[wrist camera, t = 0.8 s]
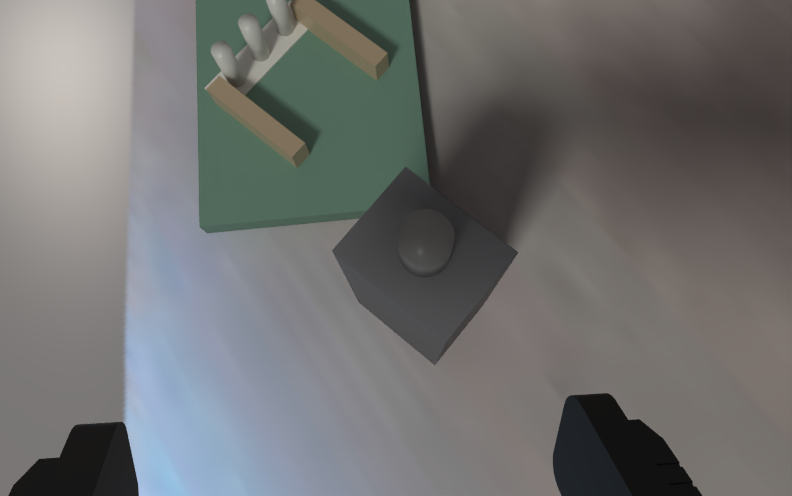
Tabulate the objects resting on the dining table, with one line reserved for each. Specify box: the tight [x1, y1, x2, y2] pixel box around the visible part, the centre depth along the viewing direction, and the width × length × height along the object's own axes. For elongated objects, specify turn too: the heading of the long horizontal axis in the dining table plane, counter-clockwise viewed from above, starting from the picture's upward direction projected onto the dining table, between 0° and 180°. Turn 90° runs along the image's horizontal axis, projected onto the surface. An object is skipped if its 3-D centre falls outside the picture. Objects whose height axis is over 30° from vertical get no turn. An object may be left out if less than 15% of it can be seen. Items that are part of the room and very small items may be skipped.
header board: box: [196, 0, 430, 233], centre depth 34 cm, size 20×12×4 cm, turn 5°
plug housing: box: [332, 167, 518, 365], centre depth 26 cm, size 4×5×13 cm
